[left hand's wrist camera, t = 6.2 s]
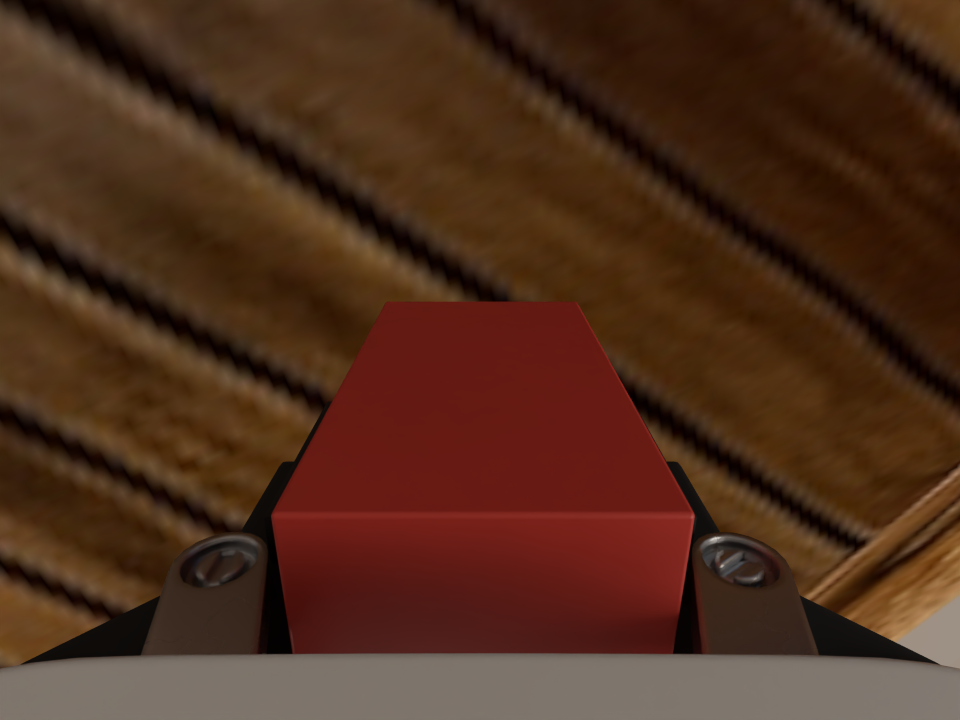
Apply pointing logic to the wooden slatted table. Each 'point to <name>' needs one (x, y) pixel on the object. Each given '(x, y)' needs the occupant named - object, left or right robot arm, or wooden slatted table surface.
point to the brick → (482, 496)
